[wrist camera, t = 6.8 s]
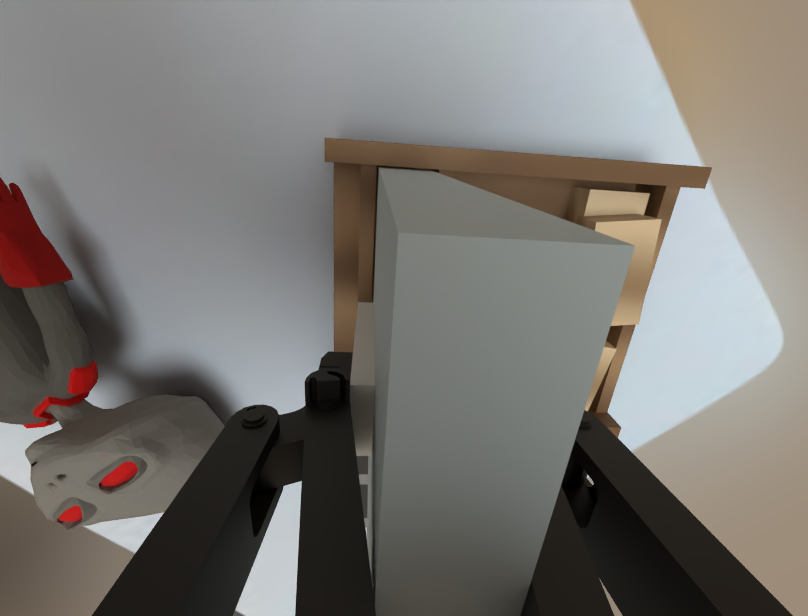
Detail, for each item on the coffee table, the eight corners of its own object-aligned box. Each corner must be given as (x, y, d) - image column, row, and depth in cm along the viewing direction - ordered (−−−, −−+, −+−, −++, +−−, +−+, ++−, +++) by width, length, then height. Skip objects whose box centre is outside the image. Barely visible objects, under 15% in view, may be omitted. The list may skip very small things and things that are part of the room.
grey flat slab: (378, 166, 19) (398, 232, 4) (430, 170, 19) (635, 245, 4) (369, 400, 24) (362, 800, 9) (409, 400, 24) (465, 791, 9)
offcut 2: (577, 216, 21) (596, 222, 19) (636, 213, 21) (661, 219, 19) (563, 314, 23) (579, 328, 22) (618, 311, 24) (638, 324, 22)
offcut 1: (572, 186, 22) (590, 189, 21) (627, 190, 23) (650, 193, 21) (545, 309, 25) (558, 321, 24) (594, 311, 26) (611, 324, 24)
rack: (335, 141, 22) (324, 137, 17) (645, 165, 23) (712, 167, 19) (335, 390, 28) (327, 437, 23) (579, 395, 30) (617, 439, 25)
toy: (-339, -63, 14) (245, 496, 18) (-32, 48, 23) (305, 401, 27) (-473, 224, 17) (54, 638, 21) (-155, 220, 26) (165, 511, 31)
